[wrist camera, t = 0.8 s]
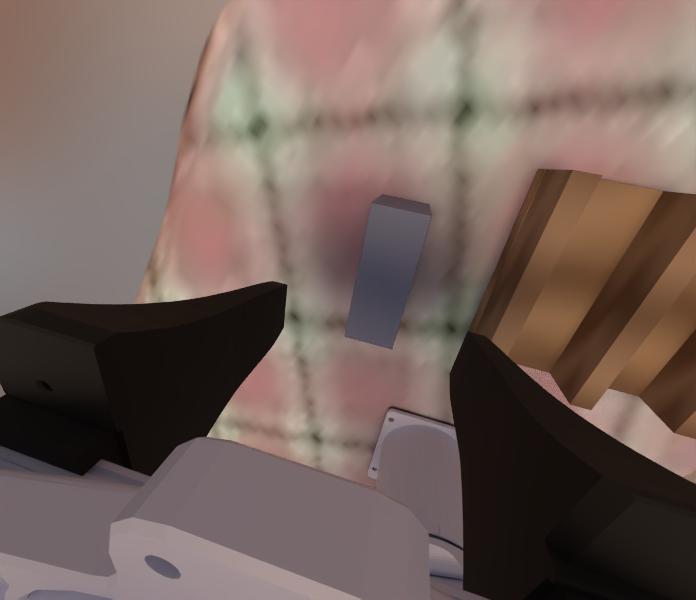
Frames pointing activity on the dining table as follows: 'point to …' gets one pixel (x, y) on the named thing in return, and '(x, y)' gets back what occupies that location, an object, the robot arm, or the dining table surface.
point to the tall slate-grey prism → (387, 268)
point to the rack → (601, 292)
